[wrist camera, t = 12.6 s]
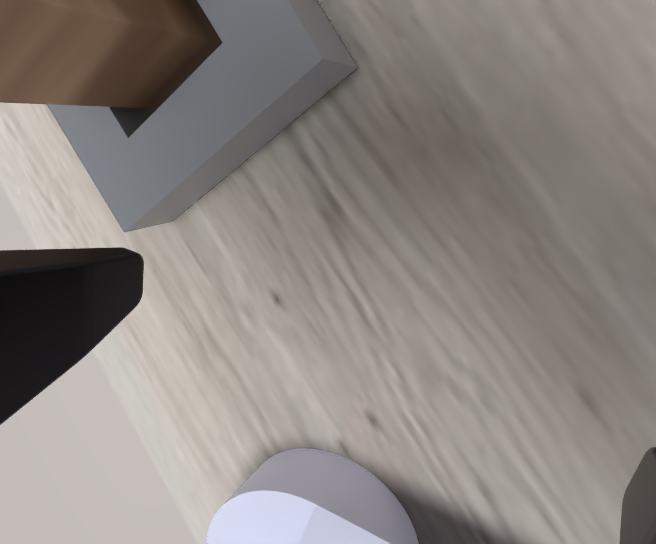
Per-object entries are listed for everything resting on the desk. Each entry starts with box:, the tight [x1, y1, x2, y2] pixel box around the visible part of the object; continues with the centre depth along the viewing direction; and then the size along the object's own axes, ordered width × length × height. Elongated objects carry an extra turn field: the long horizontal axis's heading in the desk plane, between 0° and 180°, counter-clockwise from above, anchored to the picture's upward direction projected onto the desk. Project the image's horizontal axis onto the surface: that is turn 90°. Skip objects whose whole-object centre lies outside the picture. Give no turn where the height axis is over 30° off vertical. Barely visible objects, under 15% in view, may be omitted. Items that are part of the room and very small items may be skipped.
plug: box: [0, 0, 223, 109], centre depth 17 cm, size 4×4×12 cm
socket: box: [47, 0, 358, 232], centre depth 21 cm, size 11×11×3 cm
